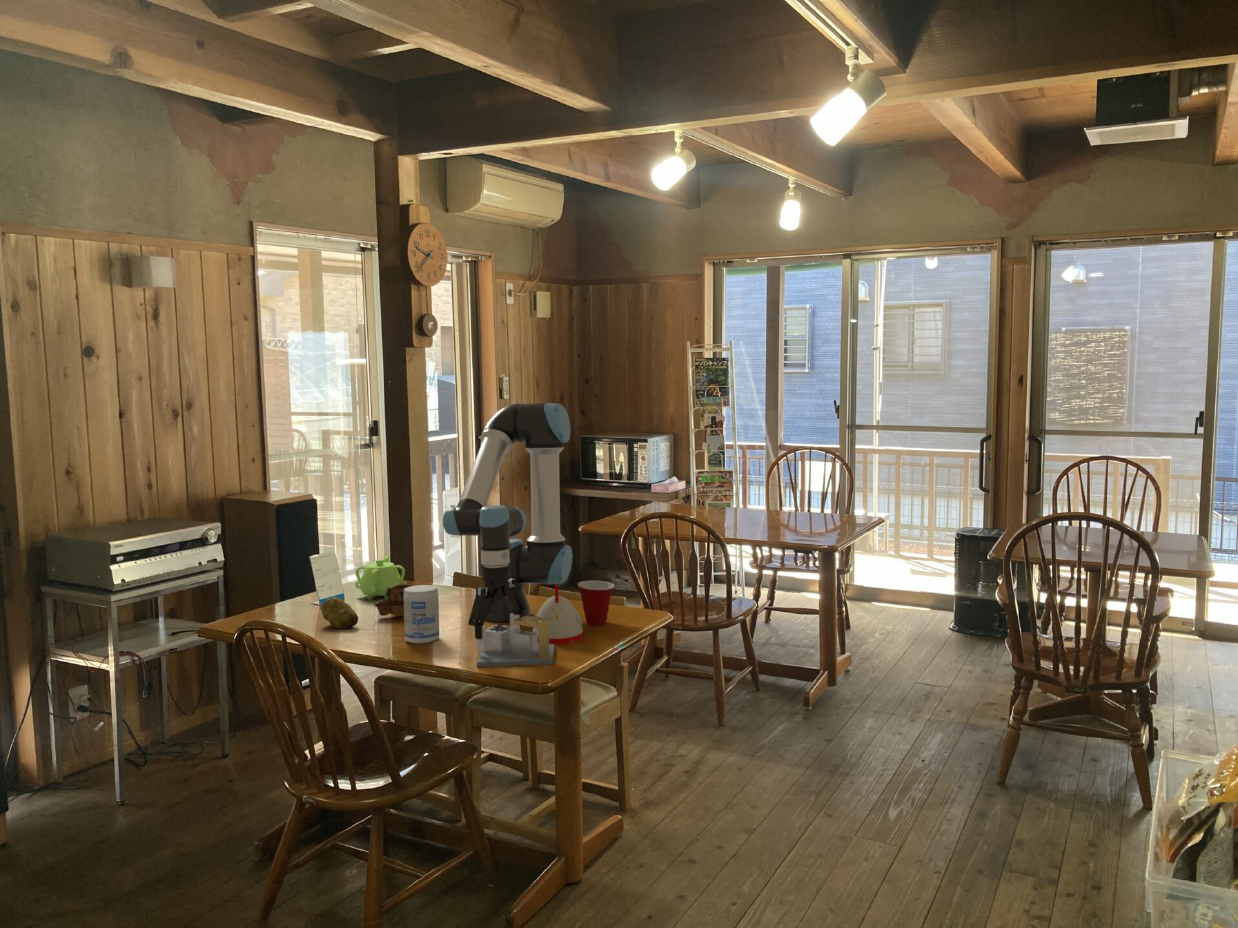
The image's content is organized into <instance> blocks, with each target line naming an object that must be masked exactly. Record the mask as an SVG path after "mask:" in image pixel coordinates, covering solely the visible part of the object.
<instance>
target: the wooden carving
mask: <svg viewBox="0 0 1238 928" xmlns="http://www.w3.org/2000/svg"><path fill="white" fill-rule="evenodd" d="M411 586H414V585H413V584H409V583H407V584H404V583H402V584H397V585H395V586H393V587H391V588H390V587H388V588H387V590H386V595H387V596H388V599H380V600H378V601H376V602H375V603H374V607H376V608H377V610H378V613H379V616H382V617H384V616H387V615H390V614H391V615H393V616H395V617H404V589H405V588H407V587H411ZM415 586H417V584H416V585H415Z"/></svg>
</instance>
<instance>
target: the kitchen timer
mask: <svg viewBox="0 0 1238 928" xmlns="http://www.w3.org/2000/svg"><path fill="white" fill-rule="evenodd" d="M534 616H535V617H542V618H549V619H553V624H550V625H549V644H554V645H564V644H563V643H566V644H572V643H575V641H576V642H579V641H580V640H583V637H584V630H583V625H582V624H583V623H582V617H581V615H580V612H579V610H577V609H576V608H575V606H574V605H573V604H572V602H570V601H569V600H568V599H567V598H566V597H564V596H561V595H559V584H554V595H553V596H551V597H549V598H548V599H547V600H546V601H544V602H543V604H542V605H541V607H540V608H539V610H538V612H536V613H535V614H534ZM532 628H533V629H532V632H533V633H538V642H539V628H535V627H532Z"/></svg>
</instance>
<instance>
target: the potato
mask: <svg viewBox="0 0 1238 928" xmlns="http://www.w3.org/2000/svg"><path fill="white" fill-rule="evenodd" d="M320 609H321V614H322V618H323V619H324V620H326V621H328V622H329V625H330V626H331V627H334V628H335V629H351V628H353V627H354V626H356V625H357V624H358V621H359V617H358V614H357V612H356V611H355V610H354V609H353V608H352V607H351V605H350V604H349V603H347V602H345V601H344V600H343V599H341V598H337V597H332V598H329V599H327V600H325V601H324V602H323V603H322V606H321V608H320Z"/></svg>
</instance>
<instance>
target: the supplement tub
mask: <svg viewBox="0 0 1238 928" xmlns="http://www.w3.org/2000/svg"><path fill="white" fill-rule="evenodd" d="M416 585H417V584H416ZM416 585H413V586H411V587H407V588H405V589H404V616H403V622H404V640H405V641H406V642H408V643H411V644H426V643H431V642H435V641H437V640H439V637H440V609H439V608H440V607H439V592H438V591H439V589H438V587H437V586H435V585H429V584H420V585H419V584H418V585H417V586H416Z"/></svg>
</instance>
